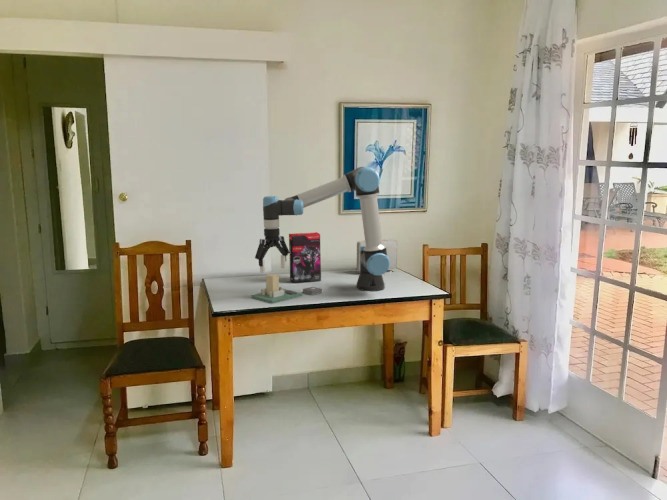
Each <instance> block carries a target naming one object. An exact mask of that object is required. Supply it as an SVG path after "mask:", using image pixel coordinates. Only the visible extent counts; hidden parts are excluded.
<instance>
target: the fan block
mask: <svg viewBox="0 0 667 500" xmlns="http://www.w3.org/2000/svg"><path fill="white" fill-rule="evenodd" d="M302 293H304V294H306V295H311V296H313V295H314V296H315V295H318V294H321V293H323V289H322V288H320V287H316V286H310V287H306V288H305V287H304V288H302Z"/></svg>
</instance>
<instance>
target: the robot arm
mask: <svg viewBox="0 0 667 500" xmlns="http://www.w3.org/2000/svg"><path fill="white" fill-rule="evenodd" d="M380 179H381V178H380V175H379V173H378V171H377V170H376V169H374V168H372V167H370V166H359V167H356V168H355V169H353V170H351V171H349V172H347V173H345V174H343V175H342V177H340V178H337V179H335V180H331V181H329V182H327V183H324V184H322V185H321V184H320V185H319V186H317V187H314V188H311V189H309V190H306V191H304V192H300V193H298V194H296V195H294V196H290V197H286V198H284V199H283V200H281V199H280V198H279V196H278V195H269V196H268V195H267V196H264V197H263V199H262V213H263V214H262V215H263V228H264V229H263V235H264V238H260V239H259V244H258V247H257V249H256V250H257V251H256V253H255V256H254V259H256V260H258V266H259V272H260V274H261V273H262V274H265V273H266V271H265V270H266V268H265V267H266V266H265V265H266V264H265V262H266V261H265V259H264V258H265V256H266V255H267V253H268V251H269V250H270V248H274V247H275V248H277V250H278V252H279V253H281V255H280V269H285V270H286V268H287V266H286V265H287V256H289V255H290V253H289V247H288V246H287V243H286V240H285V237H284V235H280V234H281V233H280V216H281V217H282V216H302V215H303V214H304V208H305V209H306V208H307V207H309V206H312V205H315V204H318V203H320V202H323V201H325V200H328V199H331V198H333V197H335V196H338V195H341V194H344V193H351V192H355V196H356V197H357V198H358V199H359V203H360V213H361V219H362V220H361V221H362V227H363V235H364V241H365V244H366V246H361V248H360V271H359V275H358V277H357V278H358V279H357V280H356V284H355V285H356V289H358V290H360V291H367V292H377V291H382V290H384V289H385V288H386V287H385V286H386V285H385V282H384V278H383V275H385V274H384V273H386V272H388V269H389V267H390V260H389V258H388V256H387V250H386V246H385V245H384V244H383V242H382V240H383V236H382V228H381V221H380V211H379V205H378V196H379V194H380V186H379V185H380V182H381V180H380ZM389 270H390V269H389Z"/></svg>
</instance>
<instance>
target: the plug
mask: <svg viewBox="0 0 667 500" xmlns="http://www.w3.org/2000/svg"><path fill="white" fill-rule="evenodd" d="M265 284H266V285H265V287H266V288H265V289H266V295H270V292H276V291H279V287H280V277H279V275H278V274H275V273H270V274H269V273H268V274H266V275H265Z"/></svg>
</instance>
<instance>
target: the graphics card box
mask: <svg viewBox="0 0 667 500" xmlns="http://www.w3.org/2000/svg"><path fill="white" fill-rule="evenodd" d="M288 250H289V280H290V282H291V283H292V284H293V283H294V284H296V283H305V282H319V281H320V282H321V281H322V267H321V266H322V265H321V264H322V262H321V234H320V233H319V232H317V231H316V232H315V231H314V232H299V233H295V232H294V233H288Z"/></svg>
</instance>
